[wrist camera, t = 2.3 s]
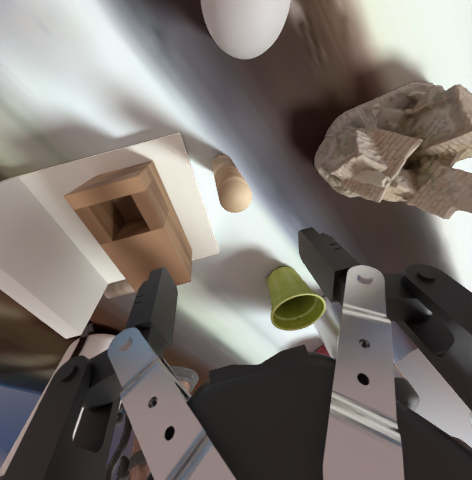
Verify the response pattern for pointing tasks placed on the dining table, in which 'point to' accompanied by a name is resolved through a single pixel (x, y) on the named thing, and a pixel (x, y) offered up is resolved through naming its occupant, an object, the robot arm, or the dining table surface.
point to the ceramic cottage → (403, 149)
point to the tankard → (137, 463)
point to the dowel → (230, 185)
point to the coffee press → (85, 346)
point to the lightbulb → (245, 24)
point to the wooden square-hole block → (134, 223)
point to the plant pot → (293, 300)
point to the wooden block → (118, 289)
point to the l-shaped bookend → (83, 231)
